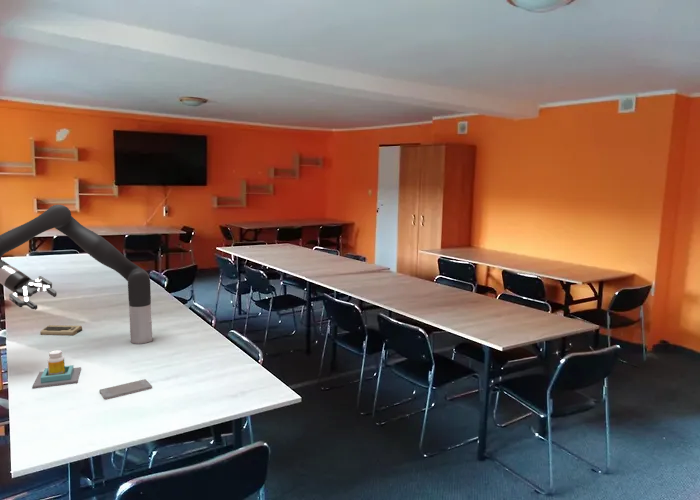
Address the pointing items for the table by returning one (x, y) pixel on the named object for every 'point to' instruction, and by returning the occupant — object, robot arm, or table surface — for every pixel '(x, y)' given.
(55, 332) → the computer
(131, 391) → the phone
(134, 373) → the table surface
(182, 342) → the table surface
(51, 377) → the bottle dock
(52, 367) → the supplement bottle
